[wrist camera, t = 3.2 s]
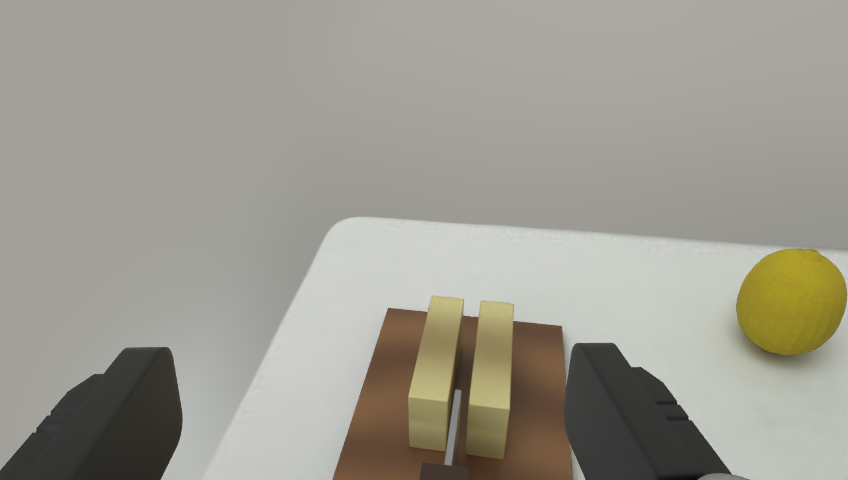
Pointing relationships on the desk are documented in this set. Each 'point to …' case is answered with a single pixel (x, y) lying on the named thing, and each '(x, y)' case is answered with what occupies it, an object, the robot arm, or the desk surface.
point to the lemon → (791, 301)
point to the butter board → (480, 397)
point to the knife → (448, 452)
